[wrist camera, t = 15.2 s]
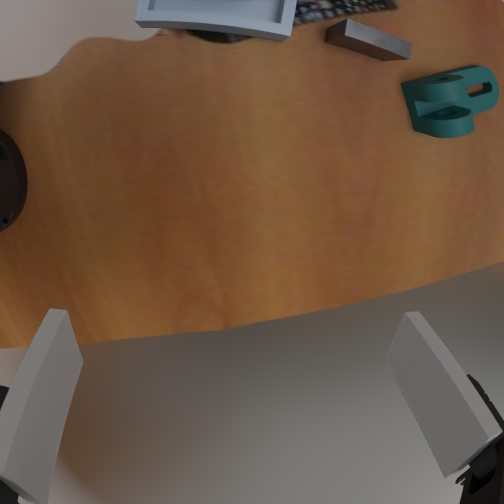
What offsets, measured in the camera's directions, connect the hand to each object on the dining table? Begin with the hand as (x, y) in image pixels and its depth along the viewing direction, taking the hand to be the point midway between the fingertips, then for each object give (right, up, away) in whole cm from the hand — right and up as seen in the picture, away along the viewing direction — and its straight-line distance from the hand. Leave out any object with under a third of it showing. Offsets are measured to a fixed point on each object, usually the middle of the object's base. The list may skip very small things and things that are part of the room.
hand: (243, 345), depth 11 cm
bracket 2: (+29, +26, +23) cm, 45 cm away
